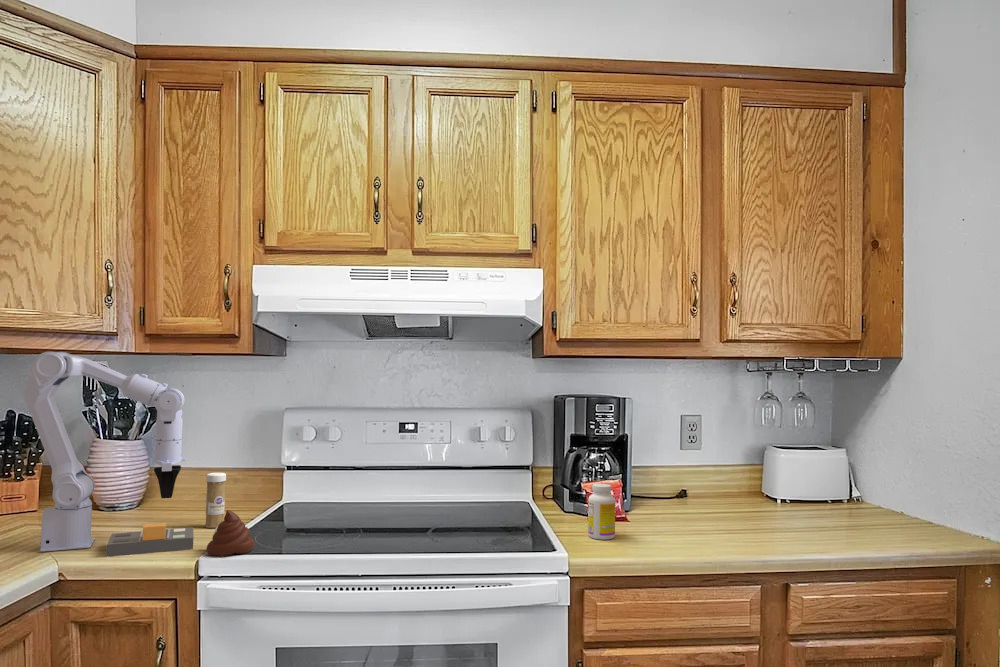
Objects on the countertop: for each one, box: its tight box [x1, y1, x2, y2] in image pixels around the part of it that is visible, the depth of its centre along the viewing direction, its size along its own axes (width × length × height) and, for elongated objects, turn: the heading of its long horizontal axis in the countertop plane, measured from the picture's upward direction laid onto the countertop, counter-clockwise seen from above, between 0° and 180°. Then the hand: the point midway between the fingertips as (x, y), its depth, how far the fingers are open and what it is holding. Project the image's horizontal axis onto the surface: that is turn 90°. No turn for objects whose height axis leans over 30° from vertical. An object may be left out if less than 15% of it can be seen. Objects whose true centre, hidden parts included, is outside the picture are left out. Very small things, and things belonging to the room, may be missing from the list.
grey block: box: [105, 527, 194, 557], centre depth 155 cm, size 17×10×3 cm, turn 114°
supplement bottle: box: [587, 483, 616, 541], centre depth 171 cm, size 7×7×13 cm
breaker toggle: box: [142, 522, 167, 541], centre depth 153 cm, size 4×3×3 cm
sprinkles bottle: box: [204, 472, 227, 529], centre depth 174 cm, size 5×5×14 cm
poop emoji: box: [206, 509, 255, 558], centre depth 153 cm, size 10×8×9 cm
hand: (166, 497), depth 161 cm, fingers closed
